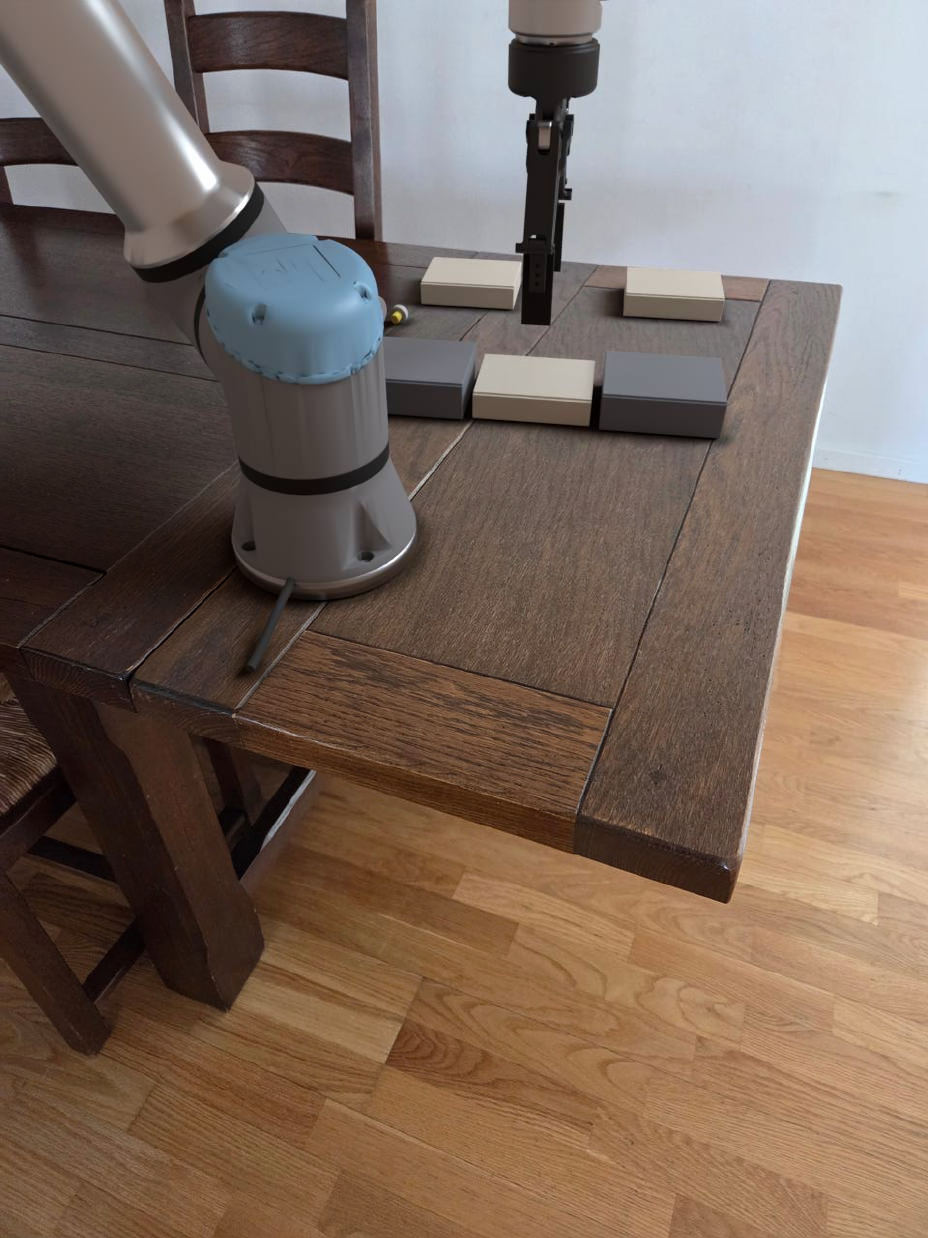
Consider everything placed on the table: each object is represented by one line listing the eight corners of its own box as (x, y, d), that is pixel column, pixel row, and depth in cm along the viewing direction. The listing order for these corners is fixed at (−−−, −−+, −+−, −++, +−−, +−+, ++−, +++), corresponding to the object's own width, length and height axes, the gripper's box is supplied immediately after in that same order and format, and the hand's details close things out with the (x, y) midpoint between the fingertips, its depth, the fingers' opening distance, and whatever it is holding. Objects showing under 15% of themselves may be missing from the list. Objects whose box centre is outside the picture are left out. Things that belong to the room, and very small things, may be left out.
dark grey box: (719, 440, 85) (727, 403, 83) (598, 431, 87) (602, 394, 84) (713, 392, 93) (720, 357, 90) (602, 384, 94) (605, 350, 92)
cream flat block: (513, 310, 110) (513, 287, 108) (421, 305, 111) (420, 281, 109) (520, 283, 117) (521, 261, 115) (434, 278, 118) (433, 256, 116)
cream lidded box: (720, 322, 107) (725, 298, 105) (623, 316, 108) (626, 293, 106) (715, 294, 114) (719, 271, 112) (624, 289, 115) (627, 266, 113)
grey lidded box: (462, 421, 88) (461, 385, 86) (348, 412, 90) (345, 377, 87) (476, 376, 96) (476, 341, 93) (371, 369, 98) (369, 335, 95)
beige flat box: (588, 428, 87) (591, 401, 85) (472, 419, 89) (472, 392, 87) (592, 386, 94) (595, 360, 92) (484, 378, 96) (484, 353, 94)
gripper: (595, 65, 60) (573, 352, 75) (605, 14, 79) (586, 252, 93) (489, 63, 61) (487, 347, 75) (524, 13, 80) (517, 249, 94)
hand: (542, 295), depth 84 cm, fingers open, 13 cm apart
